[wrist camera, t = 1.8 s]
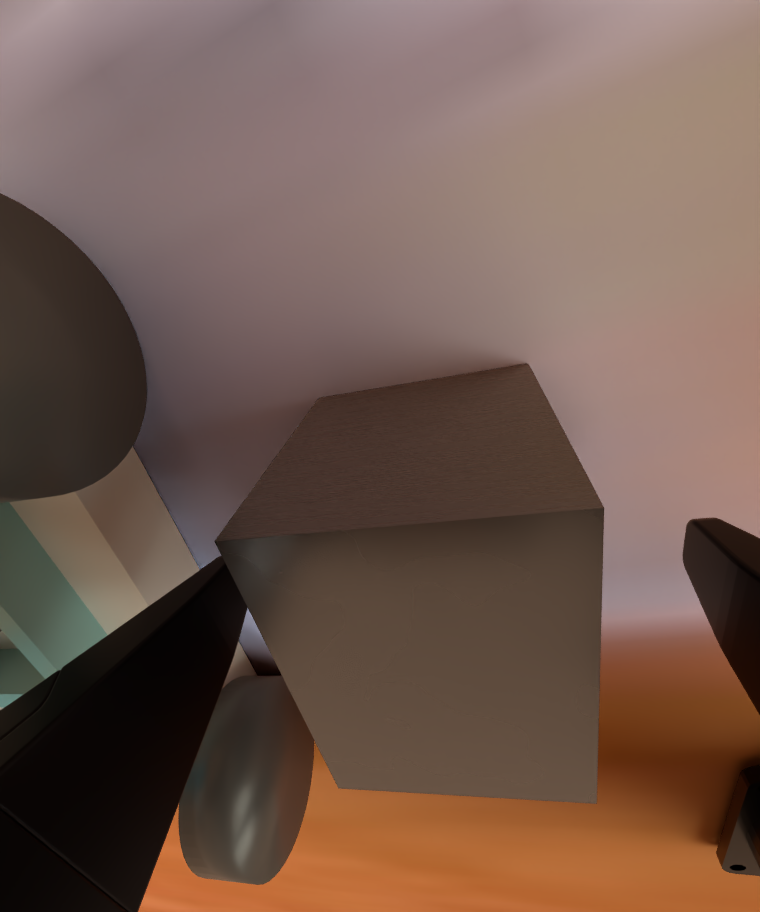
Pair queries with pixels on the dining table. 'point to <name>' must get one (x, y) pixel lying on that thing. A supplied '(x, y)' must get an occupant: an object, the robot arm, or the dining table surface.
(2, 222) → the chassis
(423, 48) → the dining table surface
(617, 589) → the dining table surface
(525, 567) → the taupe wooden cuboid
